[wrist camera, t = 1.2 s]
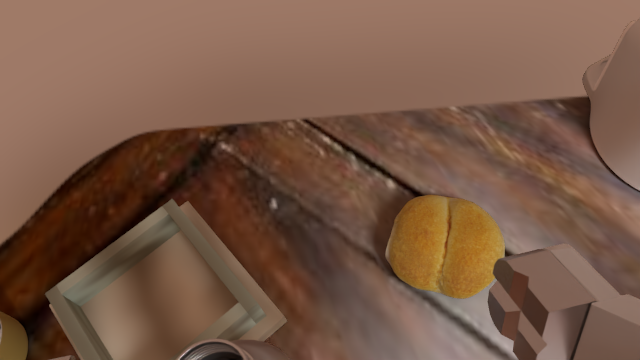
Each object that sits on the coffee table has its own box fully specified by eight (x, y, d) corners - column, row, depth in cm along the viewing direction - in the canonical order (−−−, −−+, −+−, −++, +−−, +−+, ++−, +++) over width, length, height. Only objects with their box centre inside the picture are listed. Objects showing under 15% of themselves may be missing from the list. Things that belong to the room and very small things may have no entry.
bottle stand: (192, 207, 52) (175, 183, 49) (287, 321, 46) (276, 303, 42) (56, 309, 49) (28, 292, 45) (138, 448, 43) (113, 441, 39)
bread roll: (494, 311, 44) (501, 293, 41) (379, 283, 47) (376, 265, 43) (509, 215, 48) (517, 192, 45) (402, 195, 50) (401, 171, 47)
